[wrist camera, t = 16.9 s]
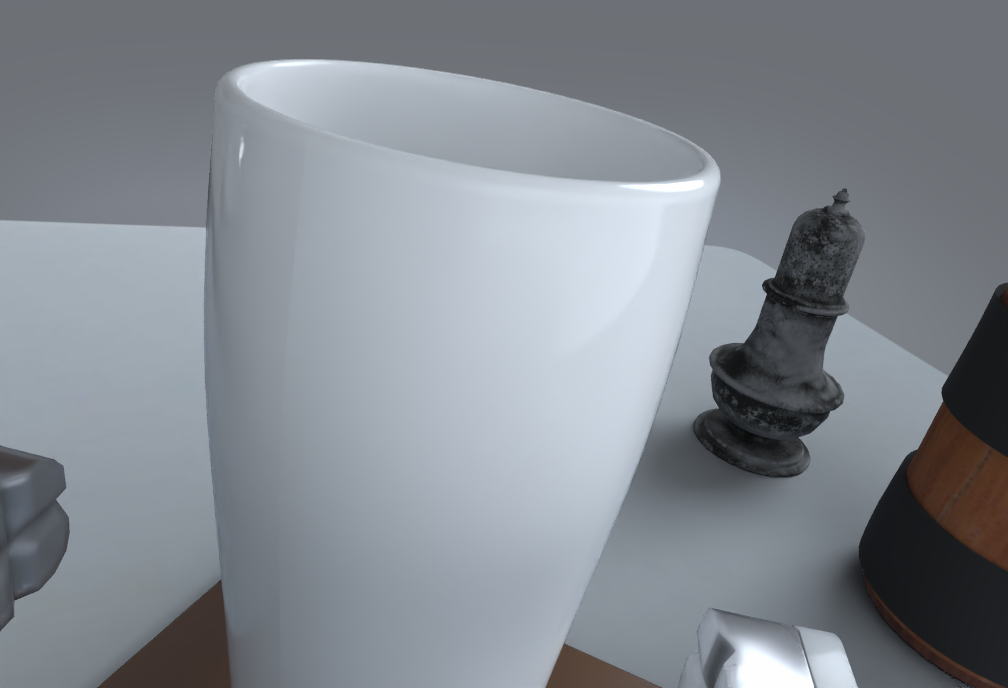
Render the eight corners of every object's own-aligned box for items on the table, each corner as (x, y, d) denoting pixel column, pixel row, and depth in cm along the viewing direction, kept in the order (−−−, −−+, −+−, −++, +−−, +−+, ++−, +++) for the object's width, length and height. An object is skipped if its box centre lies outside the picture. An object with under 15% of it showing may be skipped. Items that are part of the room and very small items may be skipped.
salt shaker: (839, 458, 36) (947, 208, 31) (772, 496, 33) (884, 218, 27) (733, 397, 40) (814, 165, 35) (662, 425, 36) (741, 168, 31)
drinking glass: (181, 1046, 13) (183, 143, 7) (206, 699, 19) (220, 36, 12) (561, 963, 15) (845, 215, 9) (479, 674, 21) (613, 95, 14)
